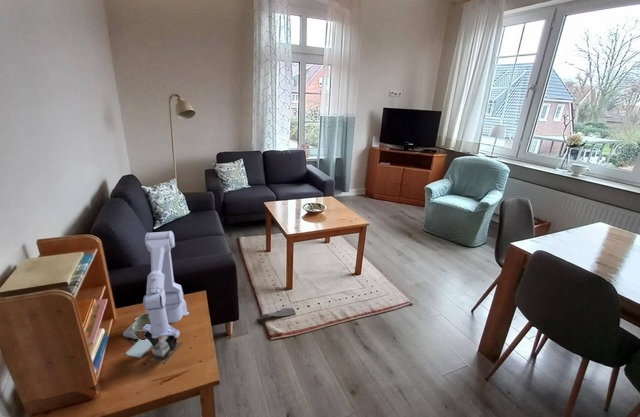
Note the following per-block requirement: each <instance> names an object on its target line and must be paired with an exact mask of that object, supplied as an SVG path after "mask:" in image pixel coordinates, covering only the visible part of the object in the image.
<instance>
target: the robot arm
mask: <svg viewBox="0 0 640 417" xmlns="http://www.w3.org/2000/svg"><path fill="white" fill-rule="evenodd" d="M144 243H145V244H144V245H145V247H146V248H147V251H148V252H150V270H151V271H150V273H149V274H148V275H147V282H146V291H145V292H146V294H145V295H144V296H143V300H142V303H143V309H144V310H145V312H146V314H147V315H148V317H149V319H150V323H151V324H146V325H145V326H144V327H143V331H145V332H146V333H145V334H144V337H145V338H147V339H148V340H149V341H150V342H151V344H152V348H153V347H154V346H155V345H156V344H157V343H158V342H159V341H160V339H158V338H159V337H163V336H169V337H168V338H167V339H166V340H165V341H166V342H167V343H168V345H169V348H170V350H171V351H173V350H174V349H175V347H176V341H177V340H178V338H179V336H180V335H181V334H180V330H178V329H176V328H174V327H173V326H171V325H170V324H172V323H177V322H179V321H180V320H181V319H183V316H188V315H189V314H190V312H189V311H188V307H187V302H186V300H185V299H184V292H183V287H182V285H181V284H179V283H176V282H175V278H174V270H173V262H172V261H173V260H172V254H171V251H172V248H175V246H176V244H175V243H176V242H175V234H174V232H173V231H172V230H167V231H159V232H158V231H157V232H156V231H155V232H146V234H145V235H144ZM177 342H178V341H177Z"/></svg>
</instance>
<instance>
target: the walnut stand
mask: <svg viewBox="0 0 640 417" xmlns="http://www.w3.org/2000/svg"><path fill="white" fill-rule="evenodd" d="M181 344H182V342H177V345H176V347H175V349H174V350H173V351H171V352H170V354H169V355H168V356H167V357H166V358H165V359H164V360H161V359H156V358H154V356H153V354H152V355H150V356H149V358H148V360H149V361H153V362H157V363H161V364H166V363H167V361H168V360H170V358H171V357H172V355H173V354H174V353H175V352H176V350H177V349H178V348H179V347H180V346H181Z"/></svg>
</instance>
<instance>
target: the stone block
mask: <svg viewBox="0 0 640 417" xmlns="http://www.w3.org/2000/svg"><path fill="white" fill-rule="evenodd" d="M133 323H134V322H132V323H131V324H130V325H129V326H128V327H127V328H126V329H125V330H124V331H123V332H122V336H123V337H125V338H131V339H133V340H135V339H138V340H139V338H137V336H136V335H135V334H134V332H133V331H132V325H133ZM138 340H137V341H138Z"/></svg>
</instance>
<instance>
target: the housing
mask: <svg viewBox="0 0 640 417" xmlns="http://www.w3.org/2000/svg"><path fill="white" fill-rule="evenodd" d="M168 337H169V336H161V338H160V339H159V342H158V343H157V344H156V345H155V346H154V347H153V346H152V348H151V351H152V355H153V356H154V358H156V359H161V360H164V359H165V358H166V357H167V356H168V355H169V354H170V352H171V350H170V348H169V345H168V343H167V342H166V341H165V340H166V339H167V338H168ZM177 343H178V341H176V345H177Z"/></svg>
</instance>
